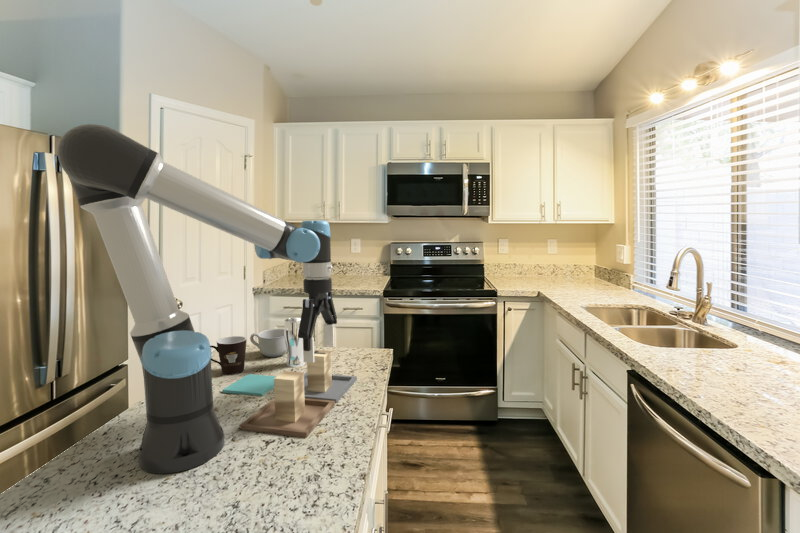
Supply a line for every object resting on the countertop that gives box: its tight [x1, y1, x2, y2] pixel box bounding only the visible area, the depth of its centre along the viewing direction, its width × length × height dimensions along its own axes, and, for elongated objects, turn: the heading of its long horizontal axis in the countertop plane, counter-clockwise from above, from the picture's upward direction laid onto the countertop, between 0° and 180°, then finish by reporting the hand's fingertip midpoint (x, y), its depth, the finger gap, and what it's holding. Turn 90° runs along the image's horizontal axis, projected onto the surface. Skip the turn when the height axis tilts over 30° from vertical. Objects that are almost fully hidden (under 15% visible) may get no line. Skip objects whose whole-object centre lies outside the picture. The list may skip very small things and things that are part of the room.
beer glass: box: [283, 316, 307, 368], centre depth 131 cm, size 7×7×15 cm
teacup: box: [249, 328, 287, 358], centre depth 142 cm, size 14×11×8 cm
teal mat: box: [222, 373, 278, 397], centre depth 113 cm, size 12×12×1 cm
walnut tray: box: [239, 397, 336, 438], centre depth 95 cm, size 16×16×1 cm
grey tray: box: [304, 371, 358, 404], centre depth 111 cm, size 16×16×1 cm
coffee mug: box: [210, 335, 247, 376], centre depth 125 cm, size 12×9×10 cm
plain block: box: [273, 370, 305, 422], centre depth 94 cm, size 5×5×10 cm
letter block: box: [306, 349, 333, 392], centre depth 111 cm, size 5×5×10 cm
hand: (319, 353), depth 110 cm, fingers open, 13 cm apart
